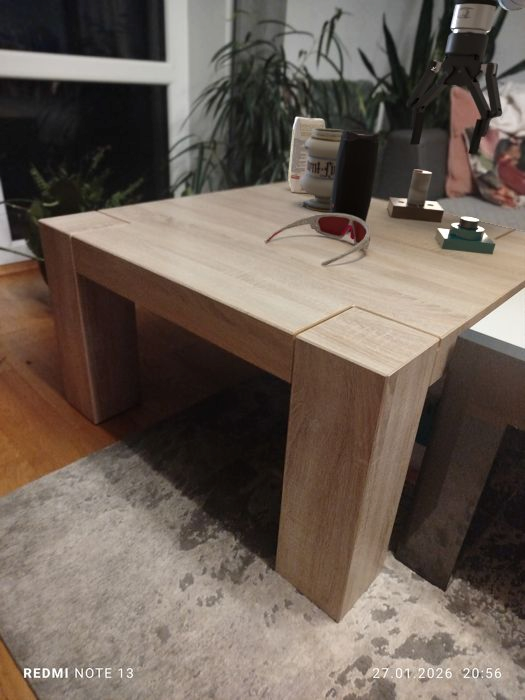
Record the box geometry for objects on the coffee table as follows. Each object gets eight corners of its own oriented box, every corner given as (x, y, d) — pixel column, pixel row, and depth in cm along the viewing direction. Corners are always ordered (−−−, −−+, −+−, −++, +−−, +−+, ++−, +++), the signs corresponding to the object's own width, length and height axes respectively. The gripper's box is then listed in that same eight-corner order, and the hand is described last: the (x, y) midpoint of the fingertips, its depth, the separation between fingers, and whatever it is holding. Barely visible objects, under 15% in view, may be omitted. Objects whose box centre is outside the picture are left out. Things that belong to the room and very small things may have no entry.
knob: (423, 202, 126) (430, 169, 122) (426, 206, 122) (433, 172, 118) (405, 200, 126) (412, 168, 123) (407, 204, 122) (414, 170, 119)
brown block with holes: (433, 213, 130) (436, 201, 128) (441, 223, 121) (444, 209, 119) (387, 208, 131) (389, 196, 129) (390, 217, 122) (393, 204, 120)
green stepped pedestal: (482, 243, 107) (487, 224, 105) (492, 254, 100) (498, 234, 98) (434, 238, 108) (439, 219, 106) (441, 249, 101) (446, 229, 99)
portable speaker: (329, 230, 107) (343, 131, 98) (325, 219, 115) (337, 127, 106) (369, 233, 107) (386, 135, 98) (362, 222, 116) (377, 130, 106)
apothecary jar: (289, 202, 129) (296, 126, 120) (327, 200, 134) (337, 127, 125) (314, 214, 119) (325, 132, 111) (355, 211, 125) (367, 133, 116)
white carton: (319, 194, 140) (328, 120, 131) (288, 192, 139) (295, 117, 130) (315, 189, 146) (323, 118, 137) (286, 187, 146) (292, 115, 137)
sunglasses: (387, 251, 96) (389, 226, 93) (326, 282, 87) (326, 256, 84) (321, 229, 107) (321, 205, 104) (261, 254, 98) (259, 230, 95)
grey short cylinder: (474, 227, 104) (476, 217, 103) (478, 232, 101) (481, 222, 100) (456, 225, 104) (459, 215, 103) (460, 230, 101) (462, 220, 100)
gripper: (403, 30, 103) (384, 141, 113) (527, 31, 88) (492, 158, 98) (421, 34, 108) (401, 140, 118) (541, 35, 93) (506, 156, 103)
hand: (442, 149), depth 108 cm, fingers open, 13 cm apart
